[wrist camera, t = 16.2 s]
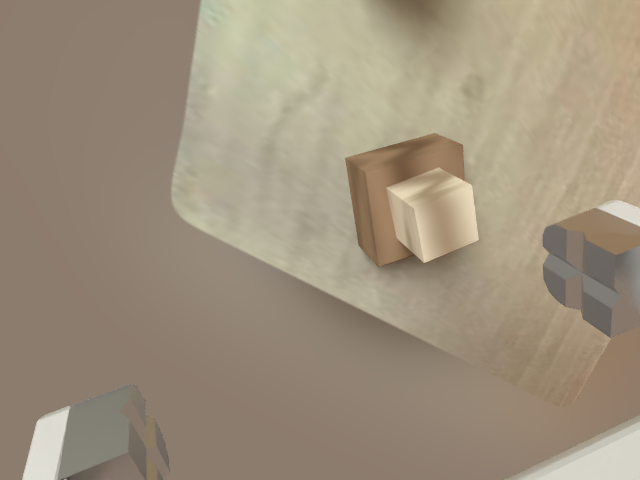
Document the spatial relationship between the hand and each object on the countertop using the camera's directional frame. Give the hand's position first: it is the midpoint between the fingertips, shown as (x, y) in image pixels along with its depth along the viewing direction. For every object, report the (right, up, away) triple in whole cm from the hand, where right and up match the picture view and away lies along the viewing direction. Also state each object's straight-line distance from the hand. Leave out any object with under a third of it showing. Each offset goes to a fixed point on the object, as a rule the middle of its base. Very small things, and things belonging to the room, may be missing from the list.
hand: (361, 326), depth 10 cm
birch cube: (+8, +5, +35) cm, 36 cm away
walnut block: (+6, +6, +39) cm, 40 cm away
